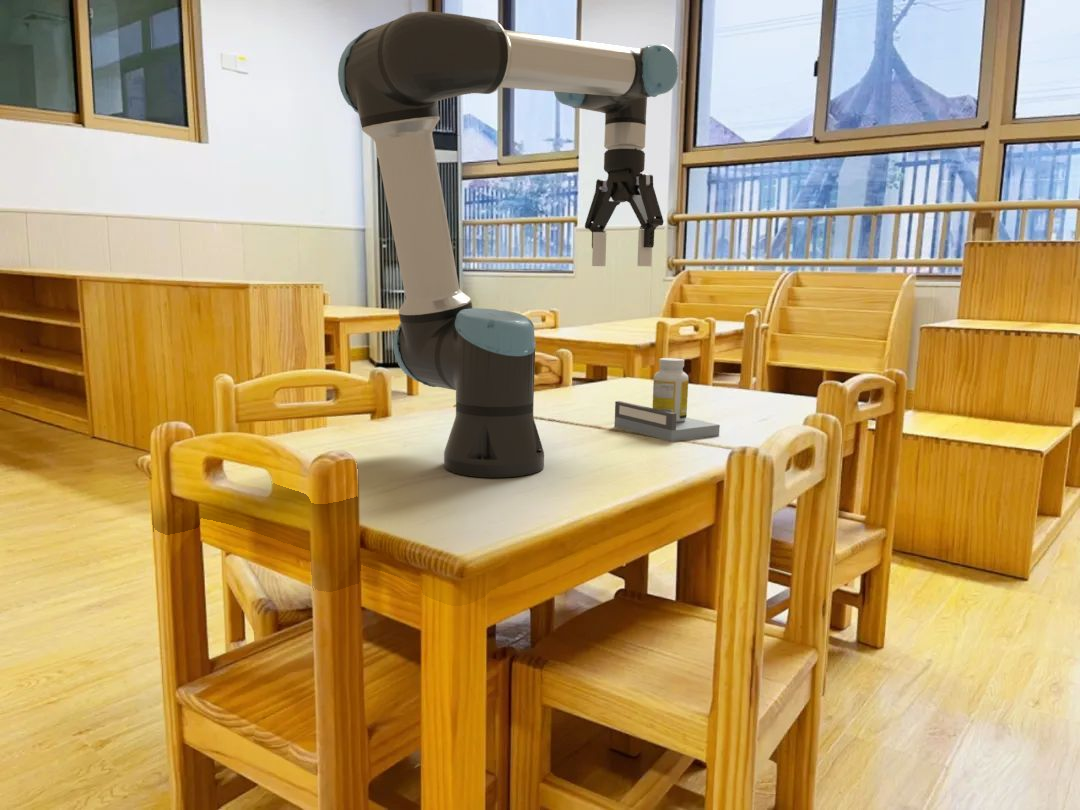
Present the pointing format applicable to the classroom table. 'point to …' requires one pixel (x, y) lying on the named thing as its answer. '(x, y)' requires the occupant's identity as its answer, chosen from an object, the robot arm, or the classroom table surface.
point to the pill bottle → (671, 388)
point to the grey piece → (660, 423)
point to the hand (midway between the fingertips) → (620, 266)
